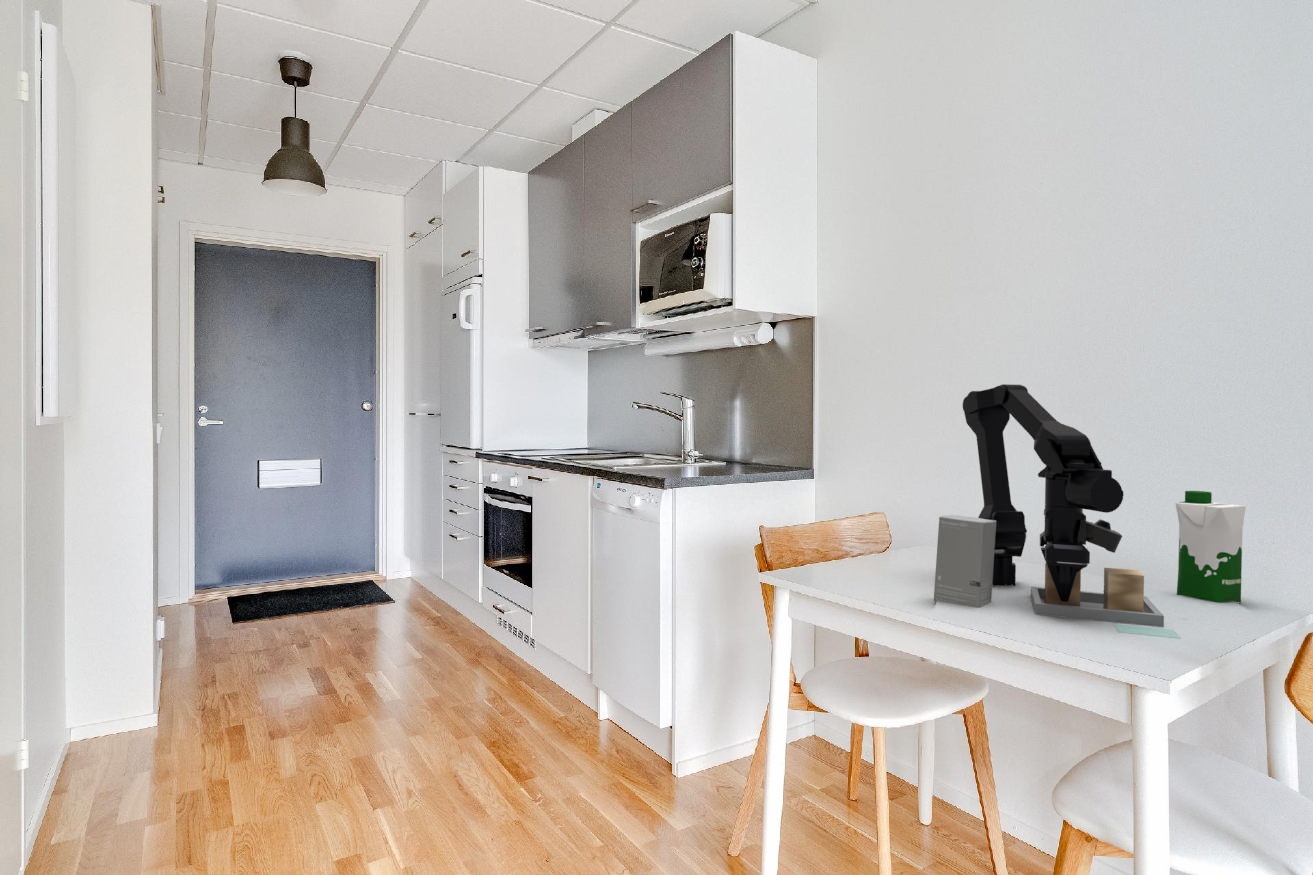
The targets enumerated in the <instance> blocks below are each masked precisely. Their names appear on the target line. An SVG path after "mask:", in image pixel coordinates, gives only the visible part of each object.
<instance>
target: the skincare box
mask: <svg viewBox="0 0 1313 875" xmlns="http://www.w3.org/2000/svg"><path fill="white" fill-rule="evenodd" d="M996 522H997V521H996V520H988V519H981V518H978V517H975V516H966V515H957V514H949V515H948V514H947V515H940V516H939V517H938V531H937V544H936V546H937V549H936V560H935V577H934V589H933V590H934V592H933V602H934V604H937V602H943V603H949V604H952V605H954V604H955V605H960V606H967V607H973V608H978V609H979V608H981V607H982V608H983V607H984V606H987V605H988V604H989V603H991V602H992V596H993V585H992V582H993V565H994V550H995V549H994V548H995V534H996Z"/></svg>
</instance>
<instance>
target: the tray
mask: <svg viewBox="0 0 1313 875" xmlns="http://www.w3.org/2000/svg"><path fill="white" fill-rule="evenodd" d="M1030 598H1031V600H1030V601H1031V603H1032V607H1033V608H1032V609H1033V612H1034V614H1035V615H1040V616H1049V617H1051V616H1052V617H1061V618H1070V619H1071V618H1072V619H1079V620H1080V619H1082V620H1091V621H1101V622H1112V623H1120V624H1130V625H1140V626H1149V627H1150V626H1151V627H1158V628H1159V627H1160V628H1161V627H1163V628H1164V627H1165V616H1164V614H1163V613H1162V612H1161V611H1160V610H1159V608H1157V607H1156V606H1155V604H1154V603H1153V602H1152V601H1151V600H1150V599H1149V598H1148V597H1147V596H1144V603H1143V612H1132V611H1121V610H1111V609H1104V608H1103V604H1104V592H1094V591H1086V590H1085V591H1083V590H1080V607H1079V606H1068V605H1058V604H1047V603H1045V587H1037V586H1031V587H1030Z"/></svg>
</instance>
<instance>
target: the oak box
mask: <svg viewBox="0 0 1313 875" xmlns="http://www.w3.org/2000/svg"><path fill="white" fill-rule="evenodd" d="M1144 588H1145V575H1144V574H1143V573H1142V572H1141V571H1140V569H1128V568H1113V567H1103V593H1104V604H1103V608H1104V609H1111V610H1121V611H1132V612H1143V603H1144V597H1145V596H1144V594H1145V592H1144V591H1145V590H1144Z"/></svg>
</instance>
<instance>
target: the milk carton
mask: <svg viewBox="0 0 1313 875" xmlns="http://www.w3.org/2000/svg"><path fill="white" fill-rule="evenodd" d="M1212 496H1213V494H1212V492H1211V491H1205V490H1204V491H1202V490H1185V491H1184V501H1179V502H1175V503H1174V504H1175V508H1176V509H1175V510H1176V513H1177V519H1178V566H1177V568H1178V570H1177V583H1176V584H1177V586H1176V596H1182V597H1187V598H1194V599H1197V600H1202V601H1208V602H1212V603H1218V604H1219V603H1227V602H1232V601H1235V603H1237V604H1239V603H1238V602H1241V603H1242V566H1243V565H1242V564H1243V563H1242V561H1243V559H1242V558H1243V556H1242V555H1243V526H1244V522H1245V513H1246V507H1247V506H1246V505H1243V504H1241V505H1240V504H1232V503H1228V502H1217V501H1216V502H1214V501H1212V498H1213V497H1212Z"/></svg>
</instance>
